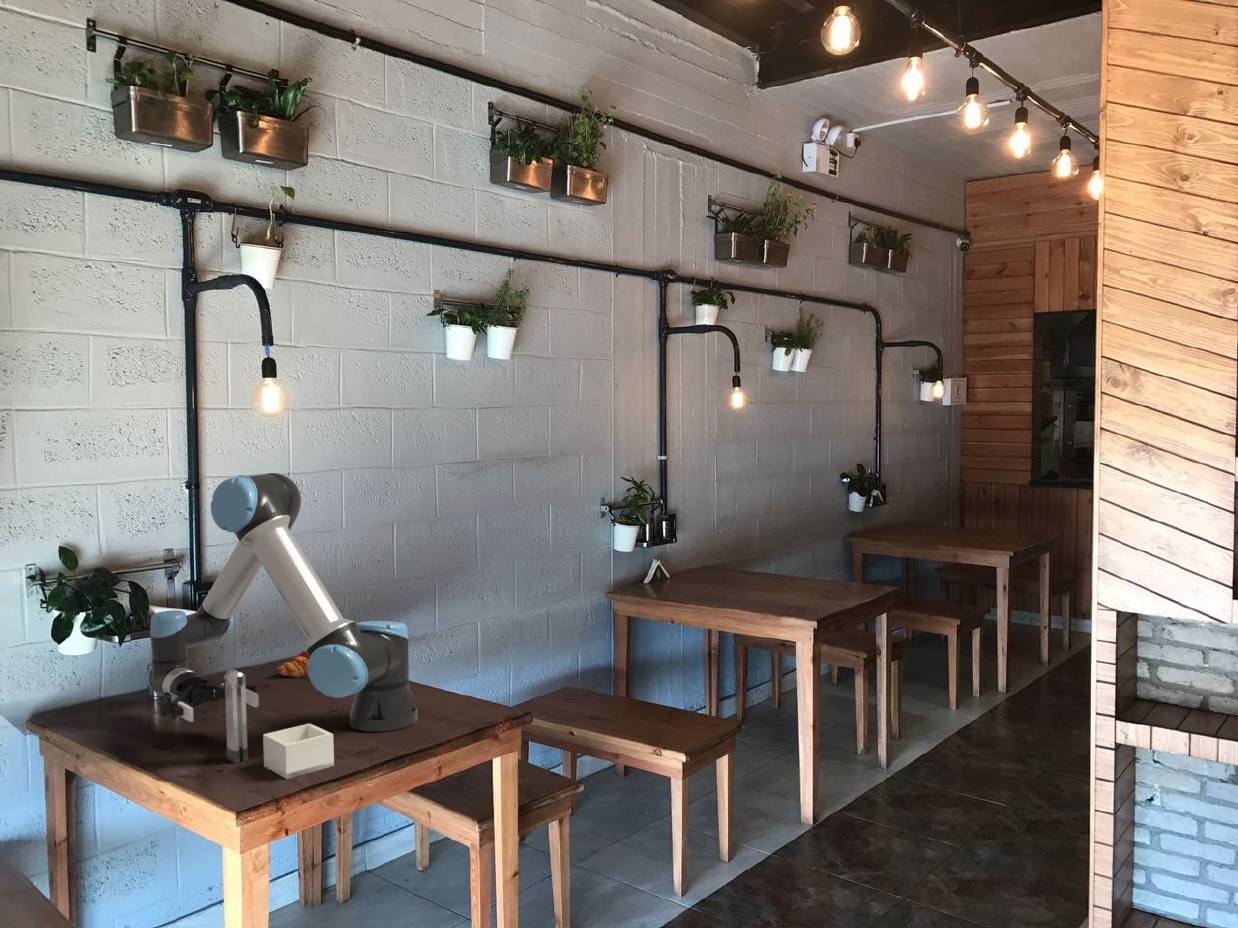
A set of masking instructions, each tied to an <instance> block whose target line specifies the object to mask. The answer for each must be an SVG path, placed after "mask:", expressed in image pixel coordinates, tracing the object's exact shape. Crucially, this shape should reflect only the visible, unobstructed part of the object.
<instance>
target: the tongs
mask: <svg viewBox="0 0 1238 928" xmlns="http://www.w3.org/2000/svg"><path fill="white" fill-rule="evenodd" d="M223 681H225V699H224V700H225V722H226V723H225V724H226V725H225V726H226V727H225V728H226V729H225V730H226V759H227V760H229V761H230V762H232V763H234V764H237V763H240V762H241V761H243V762H245V761H249V748H248V730H247V729H248V726H247V725H248V724H247V723H248V722H247V703H246V691H245V684H246V682H247V676H246V675H245V674H244V673H243V672H240V671H238V670H236V669H228V670H227V671H226V672H225V673H224V675H223ZM240 760H241V761H240Z"/></svg>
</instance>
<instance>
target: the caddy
mask: <svg viewBox="0 0 1238 928" xmlns="http://www.w3.org/2000/svg"><path fill="white" fill-rule="evenodd" d="M262 737H263V738H262V740H263V741H262V743H263V745H262V746H263V767H264V768H266V767H267V768H266V769H267V770H269V771H271V770H272V771H271V772H273V771H274V773H275V774H277V775H279V776H280V777H282V778H284V779H285V780H288V779H289V780H290V779H293V778H296V777H300V776H302V775H307V774H311V773H314V772H318V771H321V770H326V769H328V768H331V767H332V768H333V767H335V755H334V754H335V751H334V750H335V749H334V734H333V733H331V732H329V731H327V730H325V729H323V728H321V727H319V726H317V725H314V724H312V723H310V722H309V723H305V724H301V725H297V726H293V727H288V728H283V729H281V730H276V731H272V732H271V731H270V732H267V733H264V734H262Z"/></svg>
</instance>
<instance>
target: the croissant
mask: <svg viewBox="0 0 1238 928" xmlns="http://www.w3.org/2000/svg"><path fill="white" fill-rule="evenodd" d="M309 658H310V657H309V655H308V654H307V652H306V649H305V650H302V651H301V652H300V653H298V656H294V657H292V658H291V660H290V661H289V662H284V663H283V664H281V665H280V666H277V667H276V668H275V669H276V673H277V674H279V675H282V676H286V677H287V676H289V677H292V678H301V677H303V678H304V677H309V676H308V669H309V666H308V661H309Z"/></svg>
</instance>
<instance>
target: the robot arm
mask: <svg viewBox="0 0 1238 928" xmlns="http://www.w3.org/2000/svg"><path fill="white" fill-rule="evenodd" d="M212 493H213V494H212V496H211V497H212V500H211V502H210V511H211V512H210V513H211V517H212V519H213V521H214V523H215V524H216V526H217V527H218V528H220V529H221V530H222V531H226V532H228V533H234V534H235V536H236V538H237V540H238V543H237V544H236V546H235V548H234V549H233V551H232V552H231V554H230V556H229V558H228V559H227V561H226V562H225V564H224V566H223V568H222V570H221V571H220V572H219V575H218V576H217V578H216V579H215V581H214V583H213V584H212V586H211V588H210V590H209V592H208V593H207V595H206V597H204V600H203V601H202V602H201V604H200V607H199V608H198V609H197V611H196V612H193V613H190V614H186V611H185V612H184V611H183V610H177V609H173V610H172V609H171V610H165V611H163V610H162V611H158V612H156V613H154V614H153V615H152V616H151V618H150V631H149V633H150V644H151V648H150V649H151V666H150V667H149V669H148V671H147V673H146V683H147V685H148V687H149V688H150V689H151V690H153V692H154V693H155V694H156V695H159V696H162V697H163V698H162V700H161V702H160V705H159V706H160V717H166V716H168V714H170V719H172V720H174V719H177V718H178V717H180V718H182V719H183V720H185V721H187V722H190V723H191V722H194V721H195V719H194V709H195V708H197V707H199V706H201V705H202V704H203V703H207V702H219V701H220V700H225V681H224V680H223V681H221V682H220V684H210V682H209V681H208V680H207V679H206V677H205V676H203V675H201V674H199V673H197V672H195V671H194V670H192V669H189V665H188V661H189V659H188V657H189V656H188V654H189V653H188V649H190V648H193V647H196V646H199V645H202V644H206V643H209V642H213V641H216V640H220V639H221V638H223V637H225V636H228V634H231V632H232V630H233V628H234V621H235V618H234V613H235V611H237V608H238V607H239V605H240V603H241V601H242V599H243V598H245V595H246V593H247V592H248V590H249V588H250V587H251V586H252V583H253V582H254V581H255V580H256V577H257V576H258V574H259V572H260V571H261V569H262V567H263V568H264V570H265V573H266V574H267V575H268V576H269V578H270V580H271V581H272V583H273V585H274V586H275V588H276V589H277V592H278V593H279V595H280V597H281V598H282V600H283V601H284V603H285V605H286V607H287V608H288V610H289V611H290V613H291V615H292V616H293V617H294V620H295V621H296V623H297V625H298V626H299V628H300V630H301V631H302V633H303V634H304V636H305V638H306V639H307V643H306V647H305V650H306V652H307V654H308V655H309V657H310V658H309V661H308V666H309V669H308V676H307V677H308V678H309V681H310V682H311V684H312V685H313V688H315V689H316V690H317V691H318V692H319V693H321V694H322V695H325V696H327V697H328V698H329V697H331V698H334V699H340V698H346V697H348V696H353V695H355V696H354V699H353V702H352V704H351V705H352V706H351V708H350V713H349V726H350V727H351V728H353V729H354V730H356V731H361V732H362V731H363V732H370V733H371V732H374V733H375V732H378V733H379V732H390V731H395V730H396V731H397V730H401V729H403V728H404V729H405V728H406V727H410V726H411V725H414V724H415V723H416V722H417V721H418V706H417V704H416V701H415V699H414V696H413V693H412V691H411V687H410V675H409V674H410V673H409V671H410V670H409V669H410V668H409V662H410V661H409V639H410V638H409V635H408V633H409V632H408V627H407V625H406V624H405V623H403V622H399V621H389V620H388V621H387V620H384V621H383V620H370V621H361V622H357V623H356V622H355V621H354V620H351V619H347V618H344V617H343V615H342V613H341V612H340V610H339V609H338V607H337V605H336V604H335V602H334V600H333V599H332V597H331V596H330V594H329V592H328V591H327V588H326V587H325V586H324V584H323V582H322V580H321V579H320V578H319V577H320V576H318V574H317V573H316V571H315V569H314V568H313V566H312V565H311V562H310V561H309V559H308V558H307V557H306V555H305V553H304V552H303V550H302V548H301V546H300V545H299V544H298V542H297V540H296V537H294V535H293V533H292V532H291V529H292V527H293V526H294V524H295V522H296V519H298V516H299V513H300V510H301V507H302V506H301V504H302V495H301V493H300V489H299V488H298V486H297V485H296V483H295V482H294V480H293V479H291V478H290V477H288V476H286V475H284V474H283V473H279V472H268V473H261V474H252V475H250V474H249V475H237V476H235V477H229V478H227V479H225V480H223V481H221V482H220V483H219V484H218V486H217V487H215V489H214V492H212ZM245 691H246V705H249V706H251V707H253V708H258V707H259V708H260V706H259V703H260V702H259V694H258V693H257V685H256V684H250V683H247V684H246V683H245Z"/></svg>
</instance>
